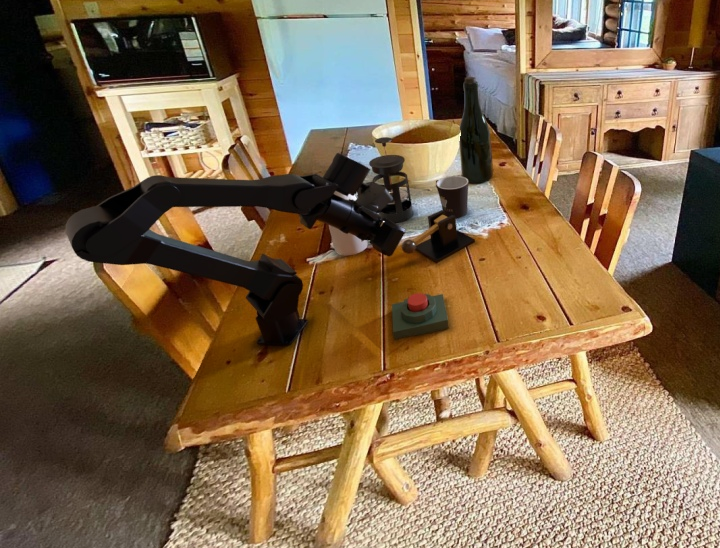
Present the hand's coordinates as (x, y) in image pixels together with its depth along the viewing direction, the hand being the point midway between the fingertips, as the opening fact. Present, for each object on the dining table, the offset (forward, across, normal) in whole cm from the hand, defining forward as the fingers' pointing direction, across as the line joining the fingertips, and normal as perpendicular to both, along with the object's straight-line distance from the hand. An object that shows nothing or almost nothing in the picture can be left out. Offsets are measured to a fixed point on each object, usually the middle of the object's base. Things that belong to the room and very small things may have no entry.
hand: (398, 239), depth 98 cm
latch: (+8, 0, -3) cm, 8 cm away
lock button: (-2, -17, +9) cm, 19 cm away
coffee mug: (+24, +12, -12) cm, 29 cm away
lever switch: (+14, 0, -3) cm, 15 cm away
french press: (+15, +23, -3) cm, 27 cm away
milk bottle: (+4, +17, +8) cm, 19 cm away
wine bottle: (+38, +25, -27) cm, 53 cm away
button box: (0, -17, +11) cm, 20 cm away
